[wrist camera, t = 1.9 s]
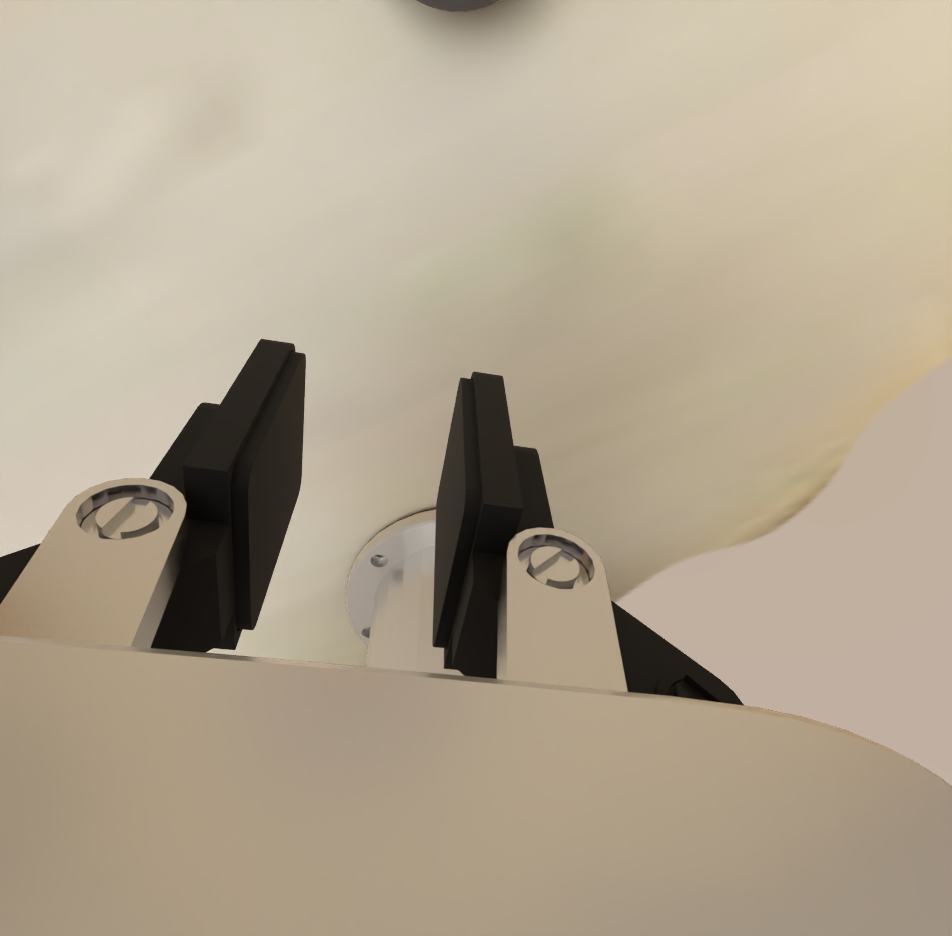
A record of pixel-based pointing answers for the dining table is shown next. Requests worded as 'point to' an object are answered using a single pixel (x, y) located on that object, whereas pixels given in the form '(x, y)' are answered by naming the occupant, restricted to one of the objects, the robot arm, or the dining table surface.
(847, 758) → the robot arm
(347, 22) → the dining table surface
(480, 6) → the dark grey ball
